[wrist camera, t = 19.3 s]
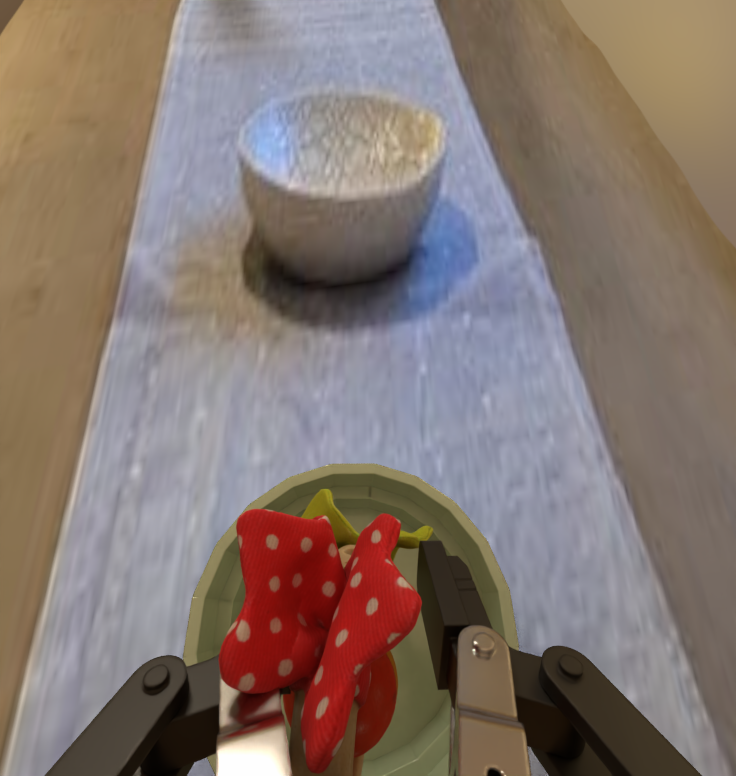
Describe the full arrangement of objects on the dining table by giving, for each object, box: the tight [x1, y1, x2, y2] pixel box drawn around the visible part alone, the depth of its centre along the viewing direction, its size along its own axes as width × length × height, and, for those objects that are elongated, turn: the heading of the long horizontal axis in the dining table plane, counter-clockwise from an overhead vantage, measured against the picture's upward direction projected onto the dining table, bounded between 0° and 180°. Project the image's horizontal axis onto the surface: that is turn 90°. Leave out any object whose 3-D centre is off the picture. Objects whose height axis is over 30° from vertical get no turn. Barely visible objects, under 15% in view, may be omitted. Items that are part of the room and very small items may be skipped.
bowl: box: [183, 464, 519, 776], centre depth 22 cm, size 15×15×6 cm
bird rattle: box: [219, 489, 433, 776], centre depth 13 cm, size 6×11×9 cm
